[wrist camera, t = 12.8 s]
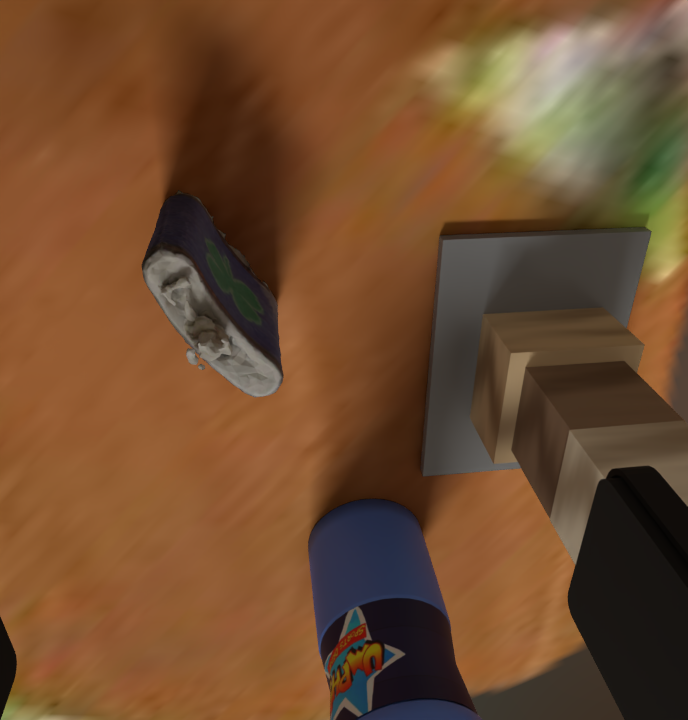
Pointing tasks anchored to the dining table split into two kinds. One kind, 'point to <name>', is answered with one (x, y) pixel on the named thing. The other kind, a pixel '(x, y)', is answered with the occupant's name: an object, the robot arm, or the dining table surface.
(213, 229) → the flask
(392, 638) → the water bottle
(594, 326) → the base block
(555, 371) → the walnut cube
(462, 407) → the slate board
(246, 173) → the dining table surface
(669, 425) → the birch cube
